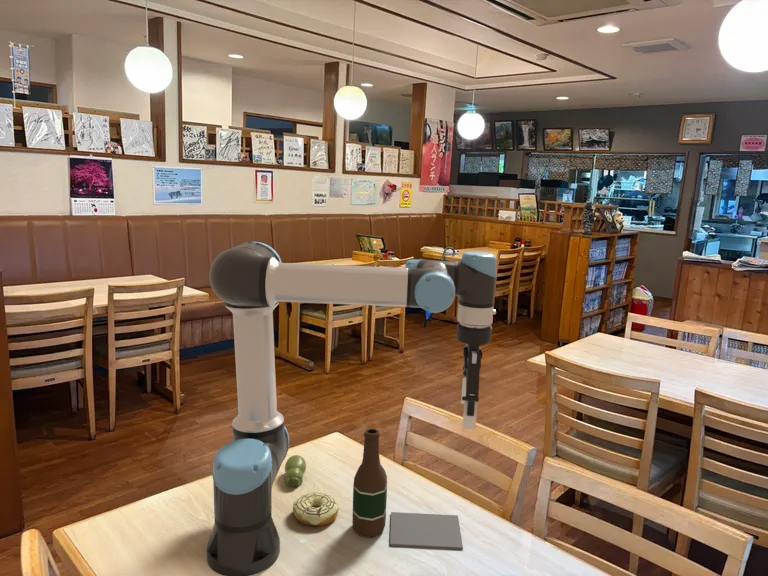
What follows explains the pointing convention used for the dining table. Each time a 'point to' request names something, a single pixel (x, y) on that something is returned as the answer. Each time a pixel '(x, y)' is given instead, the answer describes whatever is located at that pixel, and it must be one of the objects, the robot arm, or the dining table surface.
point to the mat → (425, 530)
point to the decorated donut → (315, 509)
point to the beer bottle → (370, 490)
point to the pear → (295, 470)
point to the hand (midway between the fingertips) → (467, 415)
